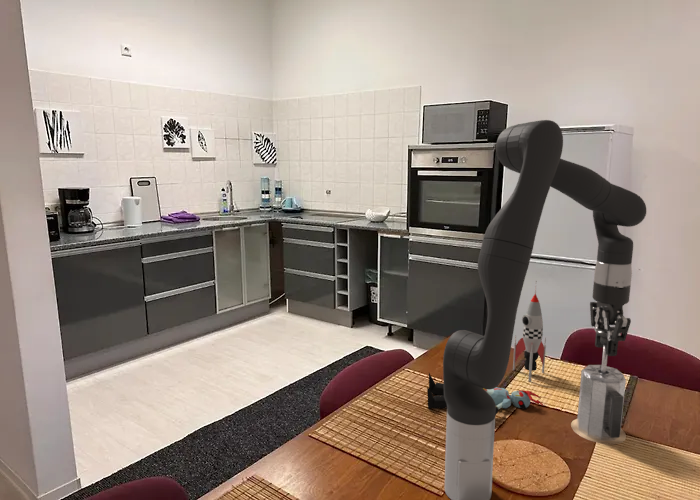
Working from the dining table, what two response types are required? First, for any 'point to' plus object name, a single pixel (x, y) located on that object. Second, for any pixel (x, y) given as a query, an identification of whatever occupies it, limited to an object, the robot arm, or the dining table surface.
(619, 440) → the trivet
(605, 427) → the french press
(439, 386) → the toy
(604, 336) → the plunger
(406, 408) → the dining table surface
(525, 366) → the toy
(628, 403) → the dining table surface
